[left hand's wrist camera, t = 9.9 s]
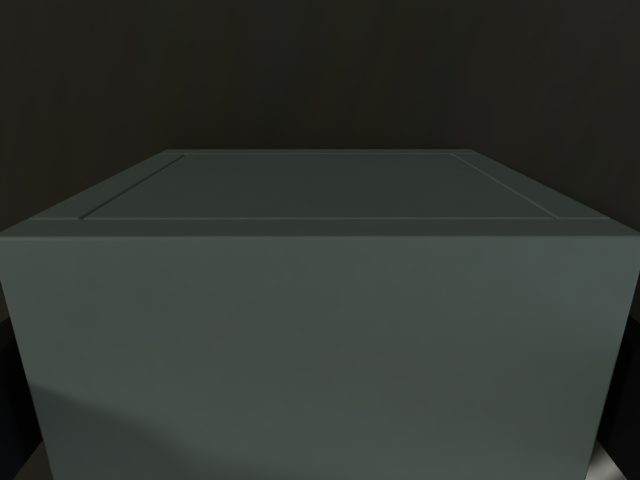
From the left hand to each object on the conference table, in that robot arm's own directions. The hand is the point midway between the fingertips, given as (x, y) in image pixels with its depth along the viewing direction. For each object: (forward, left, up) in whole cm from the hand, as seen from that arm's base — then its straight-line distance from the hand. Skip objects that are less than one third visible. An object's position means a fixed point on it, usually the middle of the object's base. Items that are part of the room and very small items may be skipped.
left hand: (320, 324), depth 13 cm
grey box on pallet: (+3, +4, -6) cm, 8 cm away
